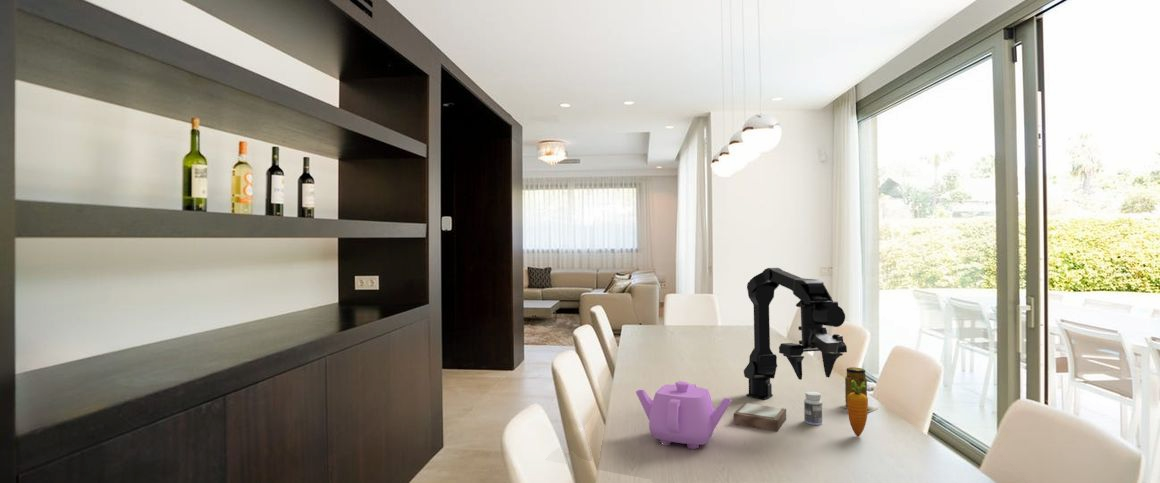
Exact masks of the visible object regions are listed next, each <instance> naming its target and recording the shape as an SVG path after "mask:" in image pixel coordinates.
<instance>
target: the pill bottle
mask: <svg viewBox="0 0 1160 483" xmlns="http://www.w3.org/2000/svg"><path fill="white" fill-rule="evenodd" d="M821 399H822V396H821V393H819V392H817V391H811V390H810V391H806V392H805V399H804V401H803V402H804V403H803V405H804V406H803V407H804V408H803V409H804V411H803V412H804V422H805V423H806V424H809V425H812V426H819V425H822V424H823V402H822V400H821Z"/></svg>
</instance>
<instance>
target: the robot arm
mask: <svg viewBox="0 0 1160 483" xmlns="http://www.w3.org/2000/svg"><path fill="white" fill-rule="evenodd" d="M779 286H781V287H783V288H786V289H789V290H791V291H792V294H793V295H794V297H796V298H798V299H799V301H798V302H797V303H796V304H795V307H797V308H800V326H798V331H801V340H798V343H793V342H785V343H780V344H779V346H778V352H779V354H782V356H784V357H786V359H787V360H788V362H789V363H790V365H791V367H792V370H793V371H794V373H795V375H796V376H797V379H798V380H800V381H801V380H802V379H803V362H802V361H803V360H804V358H805V356H804V355H802V354H804V353H805V352H806V353H807V352H821V358H822V365H823V371H824V375H825V377H826V378H830V377H831V374H832V372H833V368H834V366H835V363H836V361H837V359H838V358H840V357H841V356H843V355H844V353H847V352H848V349H847V348H848V347H847V344H846V343H845V342H844V337H843V334H841V333H835V334H833V335H832V334H828V330H827V327H834V328H838V327H841V326H842V325H843V324H844V322H845V320H846V314H845V311H844V309H843V308H842V307H840V306H839V302H838V301H834V300H833V298H832V296H831V295H830V293H829V290H827V288H826V285H825V283H824V281H822V280H820V279H814V278H804V277H800V276H797V275H795V274H794V273H790V272H788V271H785V270H783V269H781V268H779V267H767V268H765V269H763V271H762V272H760V273H759V274H756V275H754V276H753V277H752V278H751V279H750V280H749V281H748V282H747V284H746V289H747V294H748V298H749V299H750V300H749V301H751V303H752V305H753V335H754V336H753V337H754V338H753V340H754V341H753V342H754V343H753V344H754V346H753V349H752V351H751V352H750V355H749V361H748V363H747V364H746V367H745V368H744V369H743V375H744V378H746V379H748V393H746V397H750V398H756V399H760V400H766V399H769V398H771V397H773V396H774V394H773V393H772V392H773V390H772V388H773V387H772V383H771V379H775V376H776V372H777V367H778V364H777V363H778V362H777V358H778V356H777V354H774V352H773V351H772V350H771V339H770V338H771V335H770V334H771V332H770V305H771V302H772V301H773V300H774V298H775V291H776V289H778V287H779ZM824 326H827V327H824Z"/></svg>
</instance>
